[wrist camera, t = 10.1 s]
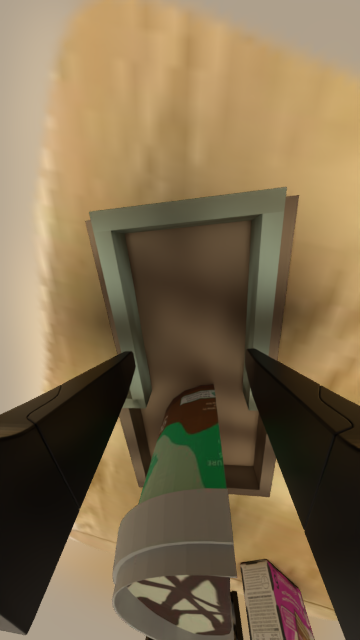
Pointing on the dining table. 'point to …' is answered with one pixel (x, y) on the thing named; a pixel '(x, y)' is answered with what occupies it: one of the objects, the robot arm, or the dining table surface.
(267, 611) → the candy bar box
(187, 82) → the dining table surface
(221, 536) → the food container
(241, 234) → the green flat tray
